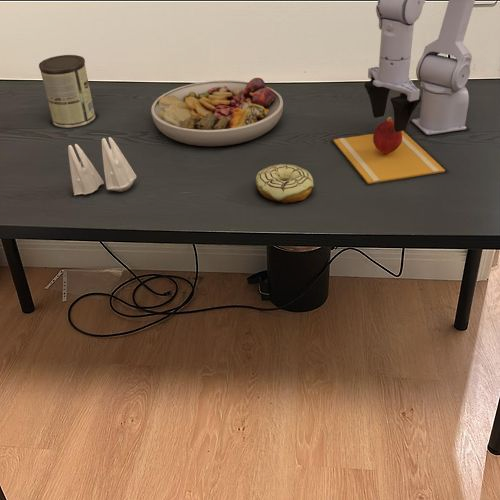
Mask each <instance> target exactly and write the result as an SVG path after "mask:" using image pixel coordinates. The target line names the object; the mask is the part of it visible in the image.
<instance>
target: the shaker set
mask: <svg viewBox="0 0 500 500" xmlns="http://www.w3.org/2000/svg"><path fill="white" fill-rule="evenodd" d="M107 139H108V142H107ZM107 139H106V138H105V137H103V138H102V139H101V154H102V163H103V171H104V172H103V173H104V179H103V178H102V177H101V174H99V172H98V171H97V169H96V168H95V166H94V164H93V163H92V162H91V160H90V159H89V157H88V156H87V154H85V152H84V150H83V149H82V148H81V147H80V146H79V144H77V143H75V144H74V147H75V150H76V152H75V150H74V147H73V146H72V145H71V144H69V145H68V146H67V153H68V154H67V155H68V162H69V170H70V178H71V183H72V190H73V195H74V196H77V195H88V194H92V193H94V192H96V191H97V190H99V187H100V186H101V185H104V184H105V189H106V190H107V191H114V192H118V193H119V192H120V193H123V192H126V191H128V190H129V189H130V188H131V187H132V186H133V184H134V182H135V180H136V179H137V174H136V173H135V171H134V170H133V168H132V166H131V165H130V163H129V162H128V160H127V159H126V157H125V156H124V154H123V152H122V151H121V149H120V148H119V146H118V145H117V143H116V142H115V141H114V139H113V137H111V136H109V137H107ZM108 143H109V144H108ZM76 153H77V154H76ZM77 155H78V156H77ZM78 158H79V159H78ZM79 160H80V161H79ZM104 180H105V182H104Z"/></svg>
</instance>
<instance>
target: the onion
mask: <svg viewBox="0 0 500 500" xmlns="http://www.w3.org/2000/svg"><path fill="white" fill-rule="evenodd" d="M373 134H374V135H373V143H374V145H375V147H376V148H377V149H378V150H379V151H380V152H382V153H384V154H389V153H391V152H393V151H394V150H396V149H397V148H398V147H399V146H400V144H401V142H402V132H401V131H399V132H396V131H395V129H394V117H391V116H388V117H387V118H386V120H385V121H383V122H381V123H380V124H379V125H377V127H376V128H375V129H374V131H373Z"/></svg>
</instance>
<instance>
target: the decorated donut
mask: <svg viewBox="0 0 500 500" xmlns="http://www.w3.org/2000/svg"><path fill="white" fill-rule="evenodd" d="M255 177H256V178H255V184H256V187H257V191H258V192H259V193H260V194H261V195H262V196H263V197H264V198H265V199H268V200H270V201H276V202H280V203H281V202H282V203H283V204H288V203H296V202H301V201H305V199H307V197H309V195H310V194H311V193H312V190H313V188H314V186H315V185H314V178H313V176H312V174H311V173H310V172H309V171H308V170H307V169H306V168H303V167H301V166H298V165H294V164H288V163H284V164H283V163H280V164H273V165H270V166H267V167H266V168H263V169H262V170H259V171H258V173H257V174H256V176H255Z"/></svg>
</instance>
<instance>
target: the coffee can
mask: <svg viewBox="0 0 500 500" xmlns="http://www.w3.org/2000/svg"><path fill="white" fill-rule="evenodd" d="M38 69H39V70H40V75H41V79H42V83H43V86H44V92H45V95H46V100H47V103H48V107H49V112H50V116H51V120H52V124H53V125H54V126H56V127H58V128H65V129H69V128H70V129H71V128H78V127H83V126H85V125H88V124H90V123H92V122H93V121H94V120H95V119H96V112H95V107H94V103H93V98H92V93H91V88H90V83H89V78H88V73H87V68H86V60H85V58H84V57H83V56H81V55H78V54H62V55H55V56H51V57H48V58H45V59H43V60H42V61H41V62H39V63H38Z"/></svg>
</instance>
